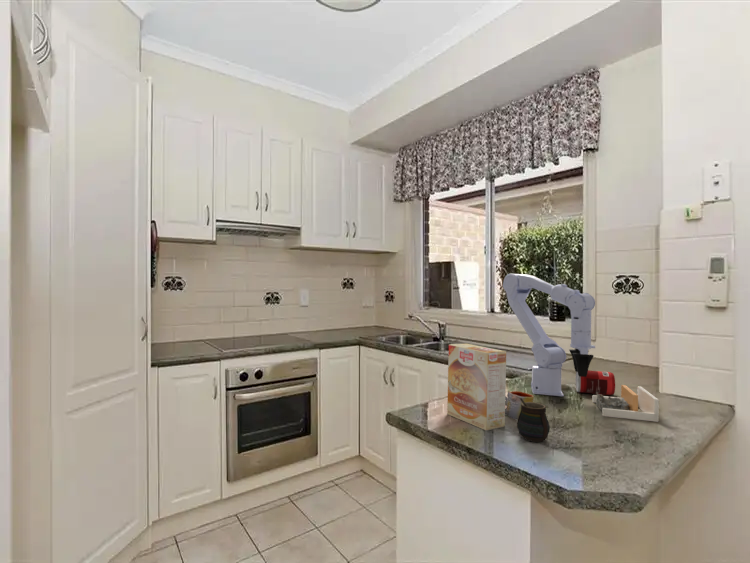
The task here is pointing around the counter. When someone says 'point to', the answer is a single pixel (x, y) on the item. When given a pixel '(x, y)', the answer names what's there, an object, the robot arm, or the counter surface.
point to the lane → (645, 403)
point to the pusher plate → (629, 398)
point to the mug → (516, 403)
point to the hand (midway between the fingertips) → (580, 374)
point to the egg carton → (611, 403)
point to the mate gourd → (533, 422)
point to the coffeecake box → (477, 385)
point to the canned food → (596, 383)
